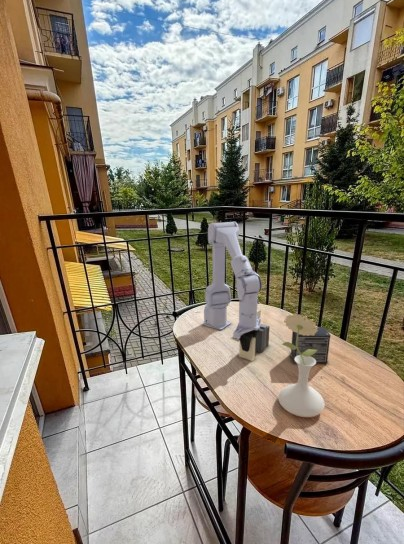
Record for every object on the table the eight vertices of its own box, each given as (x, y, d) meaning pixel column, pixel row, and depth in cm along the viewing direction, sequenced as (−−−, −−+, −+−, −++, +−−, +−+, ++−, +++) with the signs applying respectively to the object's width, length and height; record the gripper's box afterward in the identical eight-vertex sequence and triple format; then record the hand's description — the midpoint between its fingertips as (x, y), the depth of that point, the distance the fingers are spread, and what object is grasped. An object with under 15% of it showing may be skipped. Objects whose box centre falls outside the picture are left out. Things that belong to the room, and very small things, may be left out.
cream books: (246, 329, 115) (246, 311, 112) (251, 325, 119) (252, 307, 116) (254, 331, 113) (254, 313, 110) (260, 327, 117) (260, 309, 114)
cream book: (239, 356, 96) (239, 336, 93) (242, 354, 98) (242, 333, 95) (252, 361, 93) (252, 340, 91) (254, 358, 95) (255, 337, 92)
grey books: (248, 348, 101) (249, 326, 98) (256, 342, 105) (257, 320, 102) (261, 352, 98) (262, 329, 95) (268, 345, 102) (269, 323, 99)
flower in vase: (333, 409, 71) (347, 320, 62) (303, 429, 66) (314, 334, 57) (293, 383, 82) (300, 303, 73) (264, 398, 76) (268, 314, 67)
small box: (321, 353, 96) (325, 326, 92) (327, 364, 90) (331, 335, 86) (290, 353, 97) (292, 325, 93) (293, 363, 91) (296, 335, 87)
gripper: (247, 322, 82) (246, 362, 87) (269, 307, 92) (267, 343, 97) (227, 317, 86) (227, 355, 91) (250, 303, 96) (249, 338, 101)
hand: (247, 349), depth 94 cm, fingers closed on cream book, 2 cm apart
